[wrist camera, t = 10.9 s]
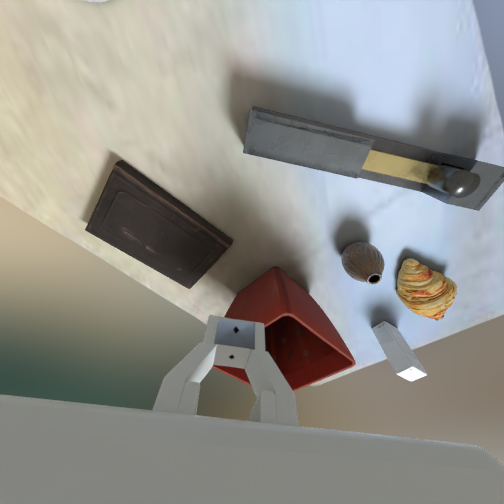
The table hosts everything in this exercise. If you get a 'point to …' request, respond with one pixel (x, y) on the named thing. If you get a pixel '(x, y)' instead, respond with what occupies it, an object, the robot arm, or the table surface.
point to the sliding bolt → (424, 173)
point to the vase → (363, 262)
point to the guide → (355, 154)
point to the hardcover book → (155, 227)
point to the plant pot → (290, 330)
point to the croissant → (425, 289)
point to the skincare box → (398, 352)
